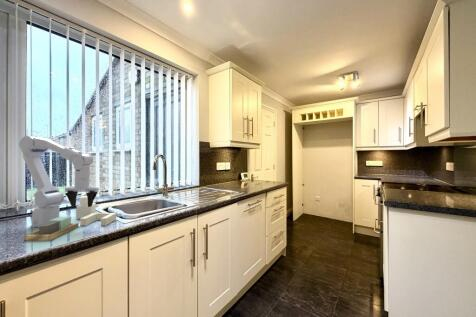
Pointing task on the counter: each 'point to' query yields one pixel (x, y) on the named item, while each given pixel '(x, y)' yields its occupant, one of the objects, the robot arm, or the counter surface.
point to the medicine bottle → (84, 208)
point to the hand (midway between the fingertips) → (81, 206)
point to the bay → (98, 218)
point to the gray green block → (54, 225)
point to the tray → (36, 237)
